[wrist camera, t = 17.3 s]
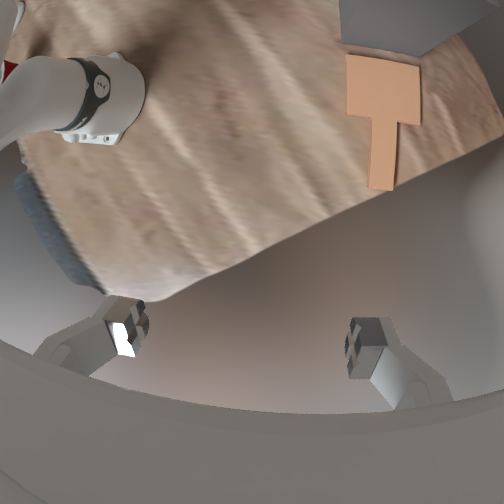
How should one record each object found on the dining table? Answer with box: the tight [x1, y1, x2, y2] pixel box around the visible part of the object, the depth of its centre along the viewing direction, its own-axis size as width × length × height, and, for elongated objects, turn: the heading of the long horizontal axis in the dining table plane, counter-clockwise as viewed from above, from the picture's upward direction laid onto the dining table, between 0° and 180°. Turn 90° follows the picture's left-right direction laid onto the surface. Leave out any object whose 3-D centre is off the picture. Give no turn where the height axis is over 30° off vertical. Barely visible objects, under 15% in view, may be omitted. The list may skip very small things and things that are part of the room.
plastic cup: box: [0, 60, 19, 86], centre depth 38 cm, size 11×11×12 cm
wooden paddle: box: [345, 54, 420, 191], centre depth 37 cm, size 12×21×2 cm, turn 179°
